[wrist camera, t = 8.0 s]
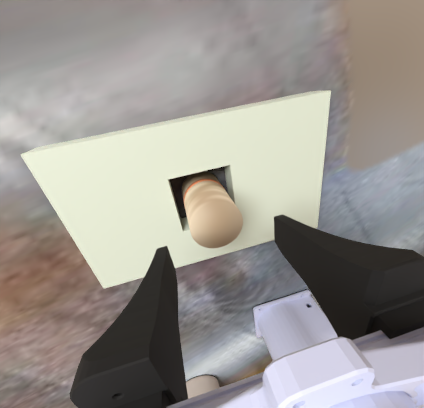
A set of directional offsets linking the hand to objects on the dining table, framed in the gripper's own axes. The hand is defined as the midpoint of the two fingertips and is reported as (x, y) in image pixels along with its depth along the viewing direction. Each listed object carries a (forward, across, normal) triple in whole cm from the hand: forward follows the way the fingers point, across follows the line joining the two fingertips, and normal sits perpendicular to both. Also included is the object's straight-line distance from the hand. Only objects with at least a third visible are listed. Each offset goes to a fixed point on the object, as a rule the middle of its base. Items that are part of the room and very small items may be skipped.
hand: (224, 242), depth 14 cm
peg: (+9, 0, 0) cm, 9 cm away
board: (+9, 0, 0) cm, 9 cm away
